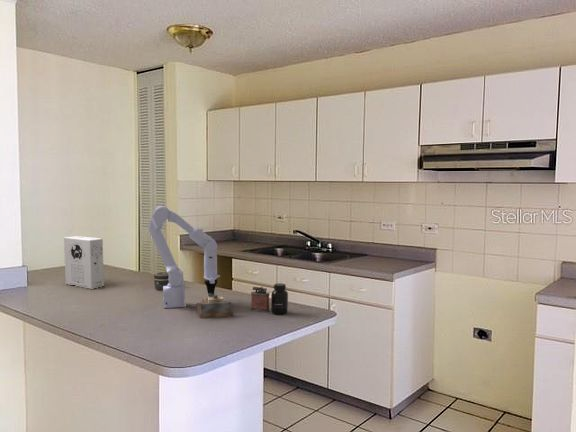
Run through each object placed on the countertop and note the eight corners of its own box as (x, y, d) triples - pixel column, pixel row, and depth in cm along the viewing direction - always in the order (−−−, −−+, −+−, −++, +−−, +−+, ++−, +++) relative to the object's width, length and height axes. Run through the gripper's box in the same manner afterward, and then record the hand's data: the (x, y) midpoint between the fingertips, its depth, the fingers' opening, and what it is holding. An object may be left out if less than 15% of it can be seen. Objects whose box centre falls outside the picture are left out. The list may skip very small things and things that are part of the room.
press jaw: (206, 307, 205) (206, 299, 204) (204, 300, 216) (204, 293, 216) (221, 306, 206) (220, 298, 206) (217, 299, 218) (217, 292, 217)
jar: (150, 290, 244) (149, 274, 244) (162, 285, 254) (161, 271, 253) (166, 291, 241) (166, 276, 240) (178, 287, 250) (178, 272, 249)
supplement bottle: (275, 316, 198) (275, 286, 197) (268, 312, 204) (268, 283, 203) (290, 314, 201) (290, 285, 200) (283, 310, 207) (283, 282, 206)
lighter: (270, 310, 207) (270, 286, 206) (267, 312, 203) (267, 288, 203) (253, 308, 209) (252, 285, 209) (249, 310, 206) (249, 287, 205)
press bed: (199, 317, 195) (199, 304, 195) (195, 300, 224) (194, 288, 223) (232, 315, 198) (232, 302, 198) (223, 298, 227) (223, 286, 227)
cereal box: (104, 286, 251) (102, 238, 249) (91, 289, 245) (89, 240, 243) (78, 282, 263) (76, 235, 261) (65, 284, 256) (63, 237, 254)
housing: (208, 310, 200) (208, 296, 200) (207, 308, 204) (207, 294, 204) (223, 309, 202) (223, 296, 202) (222, 307, 206) (222, 293, 205)
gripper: (221, 268, 210) (221, 299, 212) (217, 262, 224) (218, 292, 226) (205, 269, 209) (205, 300, 210) (202, 263, 223) (202, 293, 224)
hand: (210, 296), depth 218 cm, fingers closed
